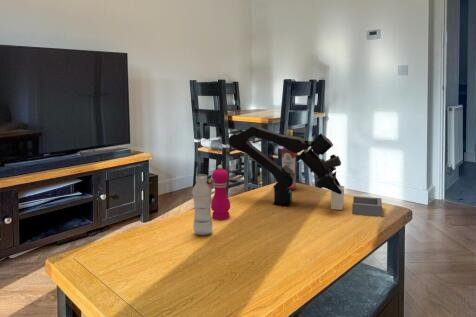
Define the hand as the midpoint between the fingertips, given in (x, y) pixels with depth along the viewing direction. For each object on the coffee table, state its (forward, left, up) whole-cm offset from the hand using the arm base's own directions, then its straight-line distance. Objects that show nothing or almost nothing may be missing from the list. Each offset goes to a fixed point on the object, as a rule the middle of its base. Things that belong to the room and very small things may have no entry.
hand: (341, 191), depth 154 cm
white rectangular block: (-1, 0, -7) cm, 7 cm away
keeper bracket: (+10, +1, -7) cm, 12 cm away
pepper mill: (-39, -27, -7) cm, 48 cm away
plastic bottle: (-37, -44, -7) cm, 58 cm away
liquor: (-27, +20, -7) cm, 34 cm away
